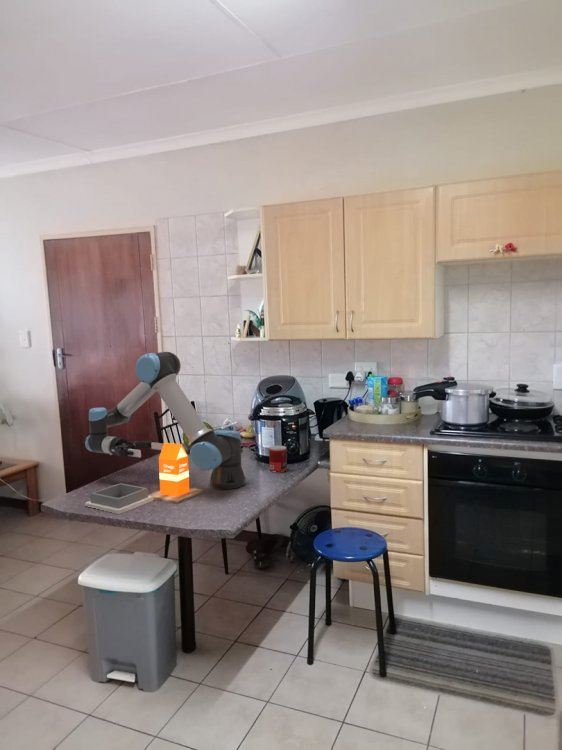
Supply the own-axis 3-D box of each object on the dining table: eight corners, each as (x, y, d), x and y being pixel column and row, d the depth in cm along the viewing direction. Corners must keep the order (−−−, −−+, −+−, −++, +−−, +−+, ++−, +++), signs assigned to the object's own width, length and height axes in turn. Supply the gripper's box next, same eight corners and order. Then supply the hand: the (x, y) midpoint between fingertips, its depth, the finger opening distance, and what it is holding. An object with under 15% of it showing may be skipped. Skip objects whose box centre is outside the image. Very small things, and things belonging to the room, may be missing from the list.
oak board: (203, 492, 230) (203, 490, 230) (177, 503, 216) (177, 501, 216) (173, 487, 238) (173, 484, 238) (146, 497, 224) (146, 495, 224)
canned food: (285, 473, 256) (284, 449, 255) (267, 472, 258) (267, 449, 256) (288, 469, 263) (287, 445, 262) (271, 468, 265) (271, 445, 264)
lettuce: (208, 457, 315) (227, 434, 315) (198, 460, 292) (219, 436, 292) (186, 437, 317) (205, 415, 317) (174, 438, 294) (195, 414, 294)
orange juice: (171, 488, 233) (170, 440, 231) (189, 491, 229) (187, 442, 227) (159, 493, 226) (157, 444, 224) (177, 496, 222) (176, 446, 220)
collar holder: (153, 500, 221) (153, 487, 220) (118, 514, 206) (118, 501, 205) (120, 493, 230) (120, 481, 230) (85, 506, 215) (84, 493, 214)
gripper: (136, 448, 254) (172, 452, 244) (92, 460, 233) (130, 466, 222) (135, 431, 254) (172, 435, 243) (91, 442, 232) (129, 447, 221)
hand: (152, 450), depth 232 cm, fingers open, 13 cm apart
